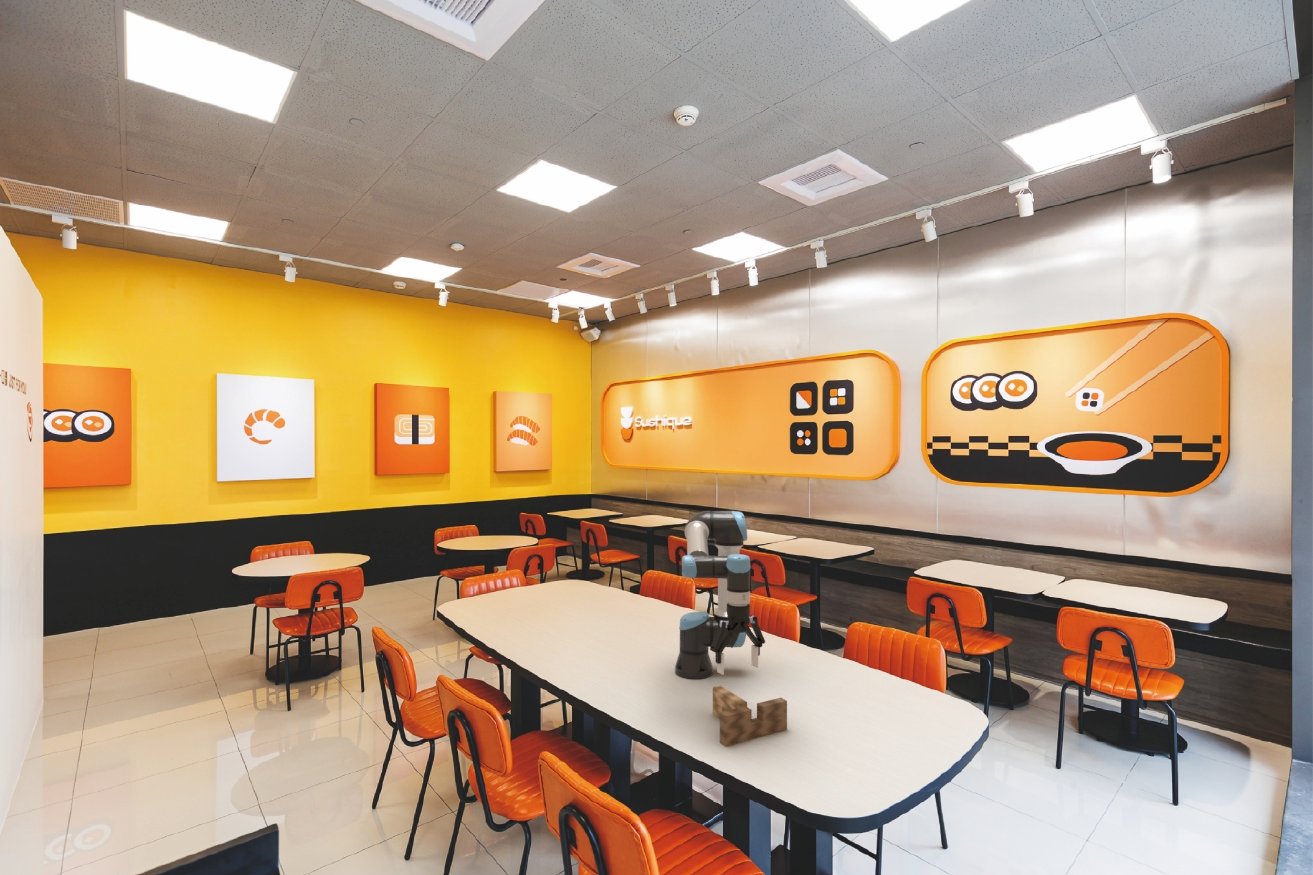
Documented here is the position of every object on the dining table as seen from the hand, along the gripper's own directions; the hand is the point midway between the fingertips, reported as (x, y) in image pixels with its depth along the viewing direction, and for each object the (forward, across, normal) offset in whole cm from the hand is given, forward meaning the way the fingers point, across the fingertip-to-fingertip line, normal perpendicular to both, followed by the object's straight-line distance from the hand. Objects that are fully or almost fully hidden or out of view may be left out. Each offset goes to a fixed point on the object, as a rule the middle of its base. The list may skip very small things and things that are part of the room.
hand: (737, 669), depth 195 cm
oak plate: (+18, 0, +5) cm, 19 cm away
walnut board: (+18, +1, -7) cm, 20 cm away
